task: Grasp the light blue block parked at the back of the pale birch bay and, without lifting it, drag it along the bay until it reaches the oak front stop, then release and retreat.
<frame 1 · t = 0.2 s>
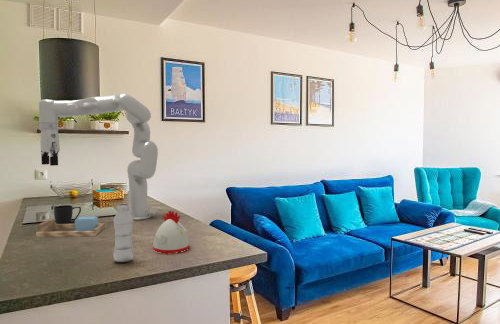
hand: (49, 164, 164), 31 cm above the kitchen counter, tool pointing down, fingers open, 9 cm apart
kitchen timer: (171, 249, 141), on the kitchen counter
plastic bottle: (123, 261, 126), on the kitchen counter
light blue block: (86, 224, 161), point 4 cm above the kitchen counter, slide at 0.0 cm
mug: (67, 225, 178), on the kitchen counter
bay: (73, 234, 161), on the kitchen counter
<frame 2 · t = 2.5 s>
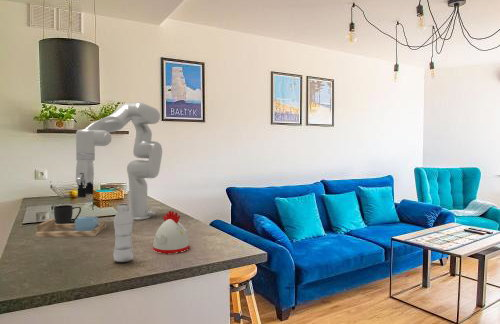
hand: (85, 195, 160), 18 cm above the kitchen counter, tool pointing down, fingers open, 9 cm apart
nothing on the kitchen counter moved.
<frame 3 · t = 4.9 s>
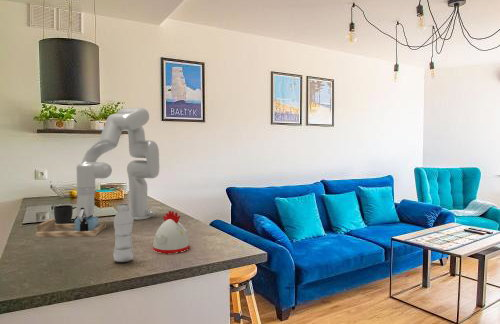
hand: (86, 230, 161), 2 cm above the kitchen counter, tool pointing down, fingers closed on light blue block, 6 cm apart
light blue block: (86, 224, 161), point 4 cm above the kitchen counter, slide at 0.0 cm, touching gripper
everything else where it was.
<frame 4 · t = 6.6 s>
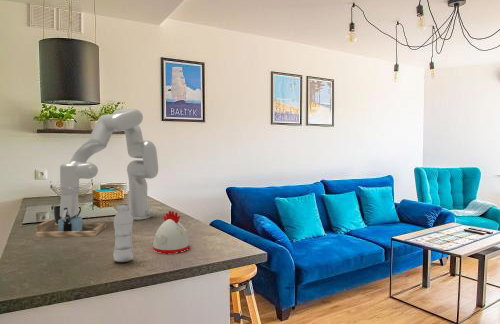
hand: (70, 230, 161), 2 cm above the kitchen counter, tool pointing down, fingers closed on light blue block, 6 cm apart
light blue block: (70, 225, 161), point 4 cm above the kitchen counter, slide at 7.0 cm, touching gripper
everything else where it was.
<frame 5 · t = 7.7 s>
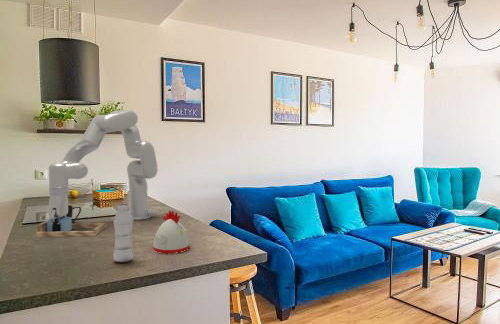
hand: (59, 230, 160), 2 cm above the kitchen counter, tool pointing down, fingers closed on light blue block, 6 cm apart
light blue block: (59, 225, 160), point 4 cm above the kitchen counter, slide at 11.6 cm, touching gripper
everything else where it was.
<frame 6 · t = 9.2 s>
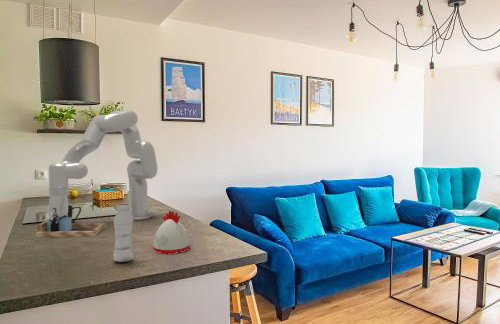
hand: (59, 229, 160), 2 cm above the kitchen counter, tool pointing down, fingers open, 9 cm apart
light blue block: (59, 225, 160), point 4 cm above the kitchen counter, slide at 11.6 cm
everything else where it was.
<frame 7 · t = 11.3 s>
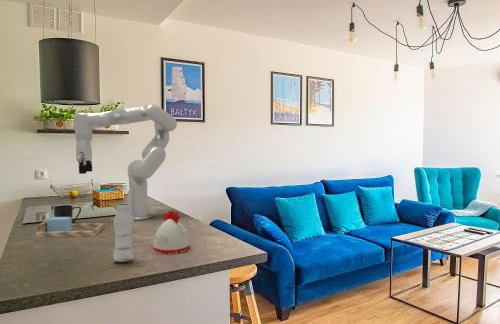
hand: (85, 172, 178), 26 cm above the kitchen counter, tool pointing down, fingers open, 9 cm apart
nothing on the kitchen counter moved.
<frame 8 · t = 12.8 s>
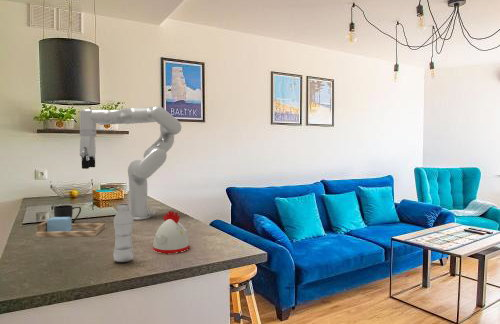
hand: (88, 167, 181), 28 cm above the kitchen counter, tool pointing down, fingers open, 9 cm apart
nothing on the kitchen counter moved.
at the end: light blue block slide at 11.6 cm; light blue block 0.2 cm from the target spot on the bay, point 4.2 cm above the bay's base; the gripper is holding nothing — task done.
